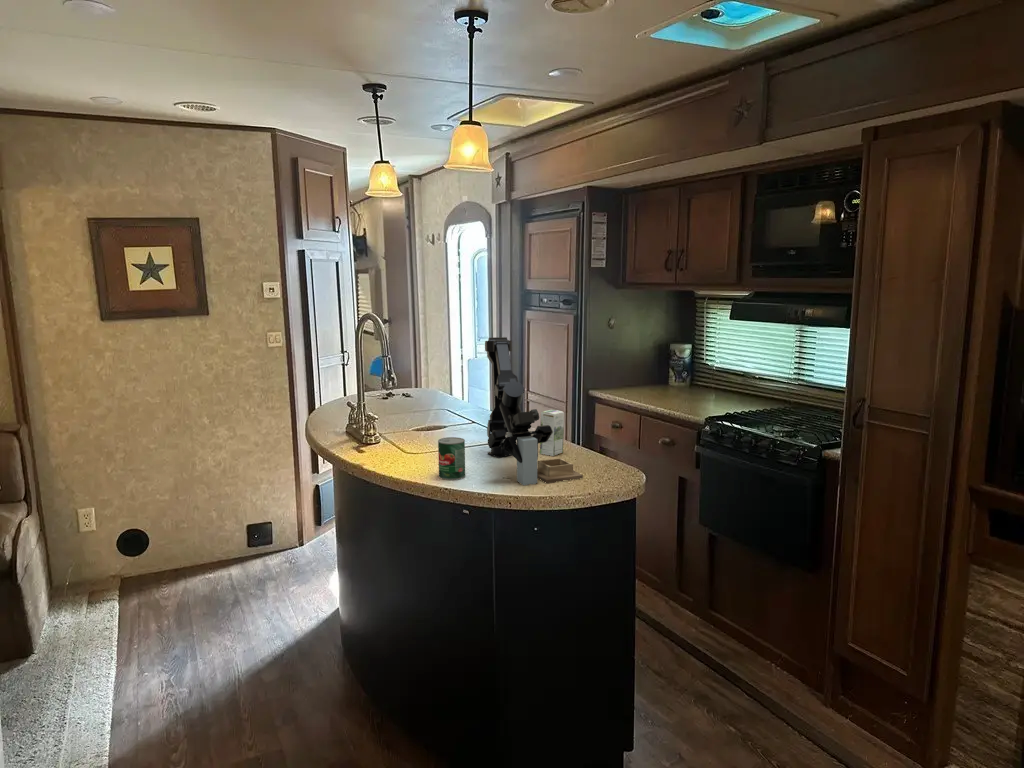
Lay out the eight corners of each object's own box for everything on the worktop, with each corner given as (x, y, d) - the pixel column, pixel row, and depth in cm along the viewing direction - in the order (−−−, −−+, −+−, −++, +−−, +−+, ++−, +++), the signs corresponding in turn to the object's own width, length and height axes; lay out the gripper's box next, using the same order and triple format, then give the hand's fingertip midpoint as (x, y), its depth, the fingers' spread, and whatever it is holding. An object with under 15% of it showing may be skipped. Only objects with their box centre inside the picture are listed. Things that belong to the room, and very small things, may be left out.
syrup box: (549, 450, 233) (550, 408, 231) (564, 453, 230) (564, 411, 227) (539, 454, 229) (539, 411, 227) (554, 456, 225) (554, 413, 223)
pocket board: (528, 472, 206) (528, 460, 206) (563, 468, 211) (563, 455, 211) (546, 483, 195) (546, 469, 195) (582, 478, 200) (583, 465, 200)
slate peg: (516, 481, 197) (516, 437, 196) (530, 479, 199) (530, 436, 197) (523, 485, 193) (523, 440, 192) (537, 483, 195) (537, 439, 193)
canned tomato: (468, 473, 206) (468, 438, 204) (460, 481, 198) (459, 443, 196) (444, 471, 208) (443, 436, 206) (434, 479, 200) (434, 442, 198)
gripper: (491, 402, 193) (507, 449, 184) (550, 397, 200) (567, 442, 192) (481, 424, 201) (495, 470, 193) (538, 419, 209) (554, 463, 200)
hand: (529, 461), depth 194 cm, fingers closed on slate peg, 4 cm apart
